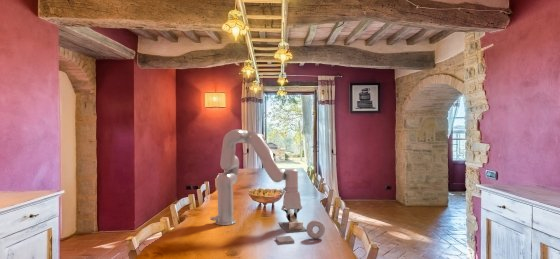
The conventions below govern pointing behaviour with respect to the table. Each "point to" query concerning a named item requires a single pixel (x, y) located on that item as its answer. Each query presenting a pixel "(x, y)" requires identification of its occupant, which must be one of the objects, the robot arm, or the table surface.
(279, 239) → the tile
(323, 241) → the table surface
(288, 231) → the mat
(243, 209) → the table surface
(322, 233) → the donut
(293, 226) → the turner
